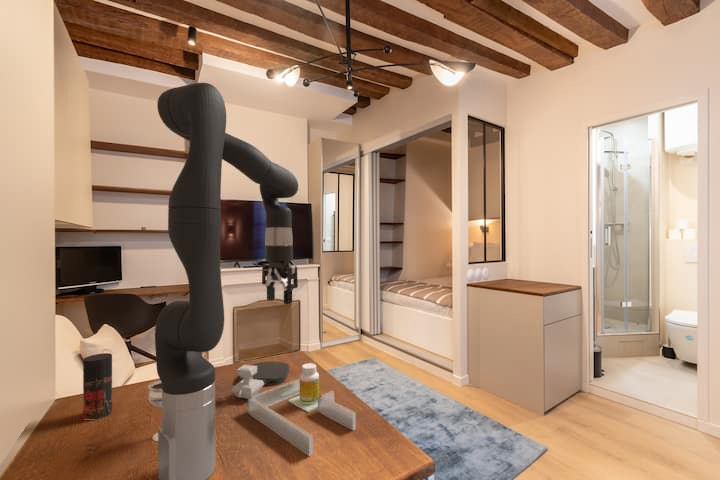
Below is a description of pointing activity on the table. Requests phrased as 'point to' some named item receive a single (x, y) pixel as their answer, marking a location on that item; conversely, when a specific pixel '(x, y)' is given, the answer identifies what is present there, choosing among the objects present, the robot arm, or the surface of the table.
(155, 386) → the wineglass
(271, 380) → the media streaming box
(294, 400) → the pad
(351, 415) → the channel
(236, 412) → the table surface
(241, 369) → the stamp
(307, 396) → the supplement bottle
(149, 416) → the table surface
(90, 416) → the deodorant
